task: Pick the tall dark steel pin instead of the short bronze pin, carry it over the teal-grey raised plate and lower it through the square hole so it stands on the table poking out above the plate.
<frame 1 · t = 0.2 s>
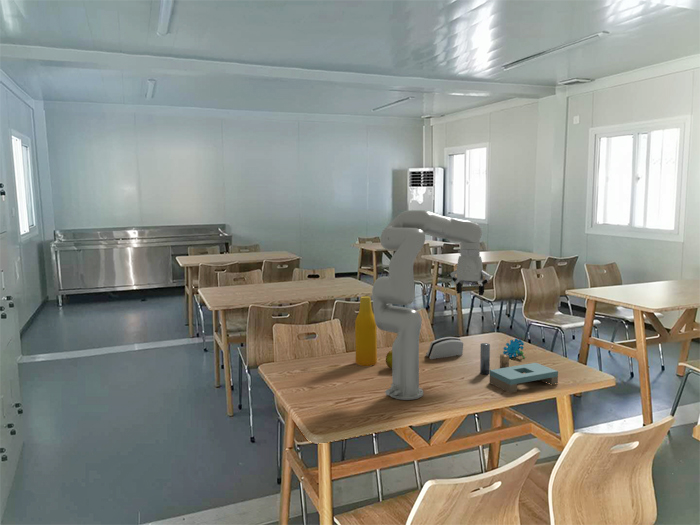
hand: (470, 294, 226), 30 cm above the table, tool pointing down, fingers open, 9 cm apart
gear: (514, 357, 241), on the table
fruit: (397, 369, 226), on the table
tall pin: (484, 373, 218), on the table
short pin: (504, 369, 222), on the table
hole bridge: (523, 383, 206), on the table
napkin holder: (445, 357, 243), on the table
beer bottle: (366, 363, 234), on the table
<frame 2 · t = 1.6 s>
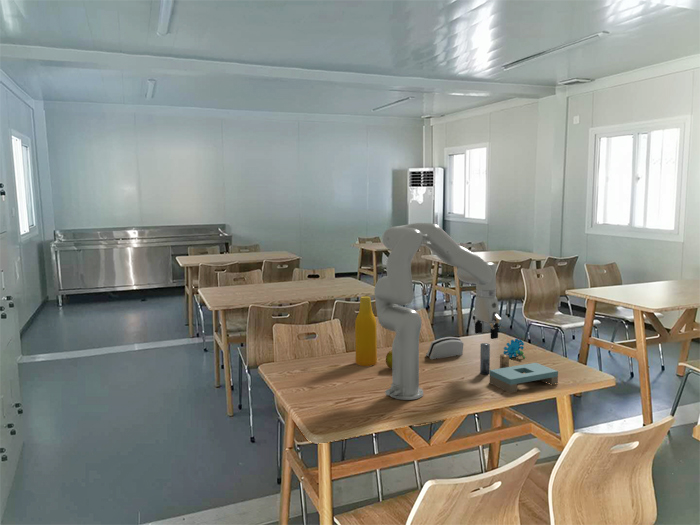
hand: (486, 335, 217), 15 cm above the table, tool pointing down, fingers open, 9 cm apart
nothing on the table moved.
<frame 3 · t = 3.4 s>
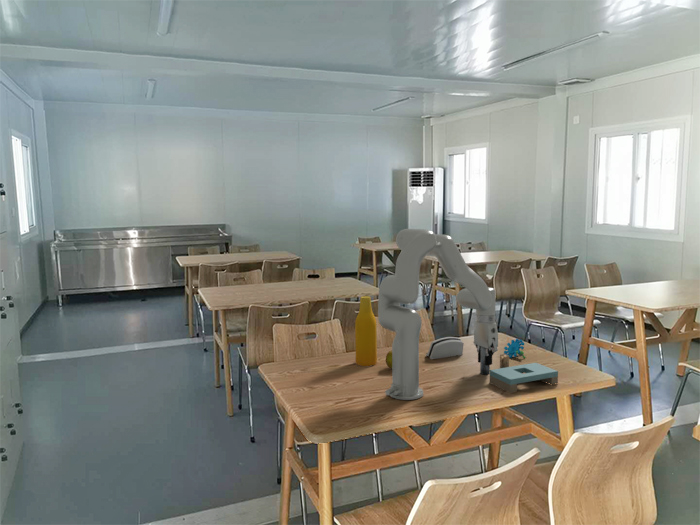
hand: (485, 362, 218), 4 cm above the table, tool pointing down, fingers closed on tall pin, 3 cm apart
tall pin: (484, 373, 218), on the table, touching gripper
everything else where it was.
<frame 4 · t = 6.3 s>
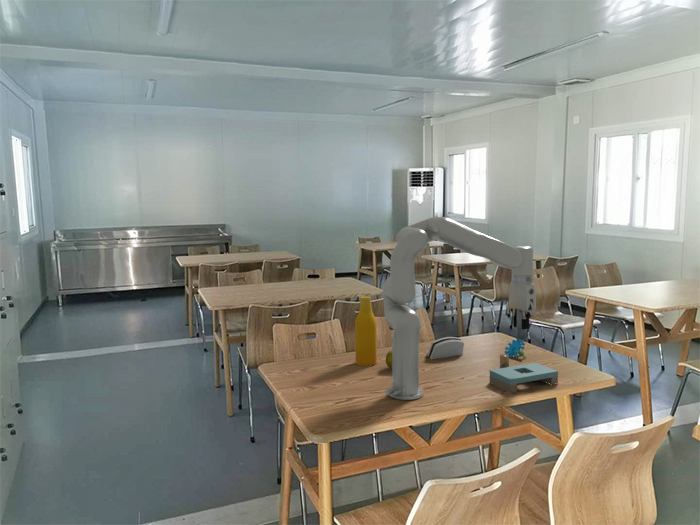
hand: (521, 327, 204), 21 cm above the table, tool pointing down, fingers closed on tall pin, 3 cm apart
tall pin: (521, 338, 205), point 17 cm above the table, touching gripper
everything else where it was.
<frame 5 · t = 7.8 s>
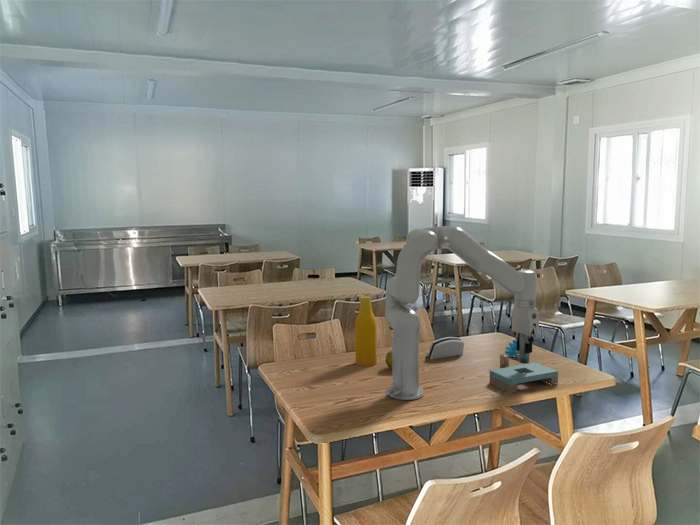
hand: (524, 351, 204), 13 cm above the table, tool pointing down, fingers closed on tall pin, 3 cm apart
tall pin: (524, 362, 205), point 8 cm above the table, touching gripper
everything else where it was.
when the fingers open (7 cm above the table, at t = 9.2 s): tall pin drops 2 cm, on the table.
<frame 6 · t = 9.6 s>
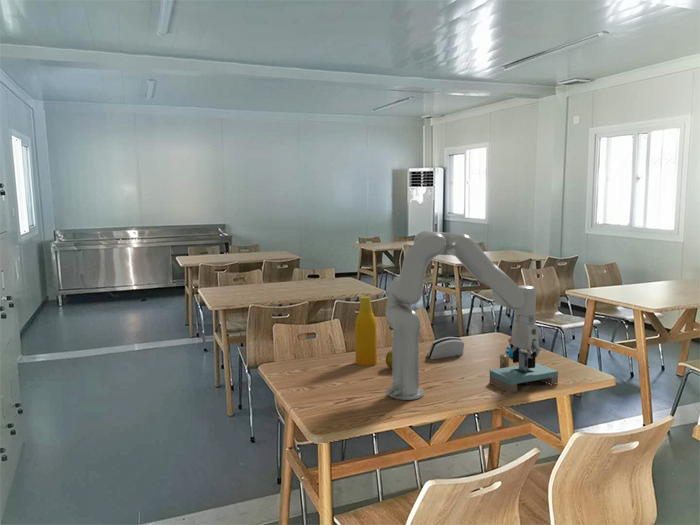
hand: (523, 364, 205), 7 cm above the table, tool pointing down, fingers open, 7 cm apart
tall pin: (523, 383, 206), on the table
everything else where it was.
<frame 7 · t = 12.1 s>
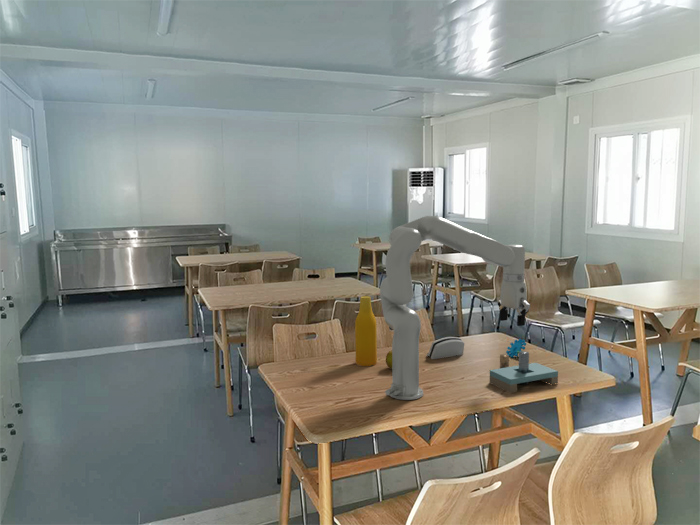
hand: (512, 322, 205), 23 cm above the table, tool pointing down, fingers open, 9 cm apart
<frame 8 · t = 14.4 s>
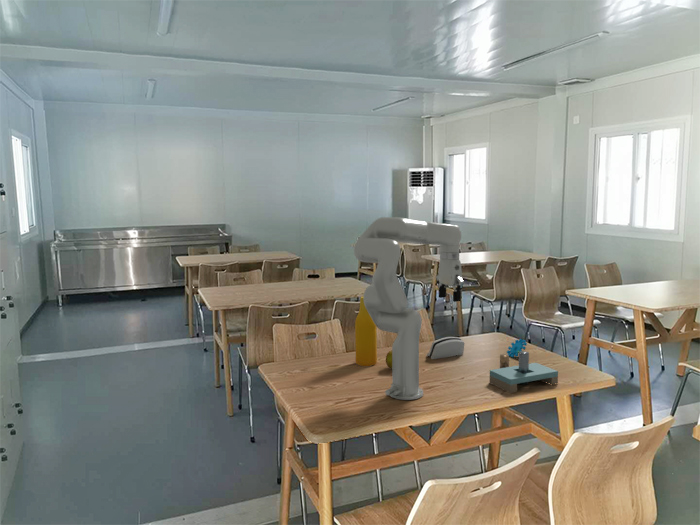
hand: (449, 299, 215), 30 cm above the table, tool pointing down, fingers open, 9 cm apart
at the end: tall pin 0.0 cm off-centre on the hole bridge, point 0.0 cm above the hole bridge's base; tall pin tilted 0°; short pin moved 0.0 cm from its start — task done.
